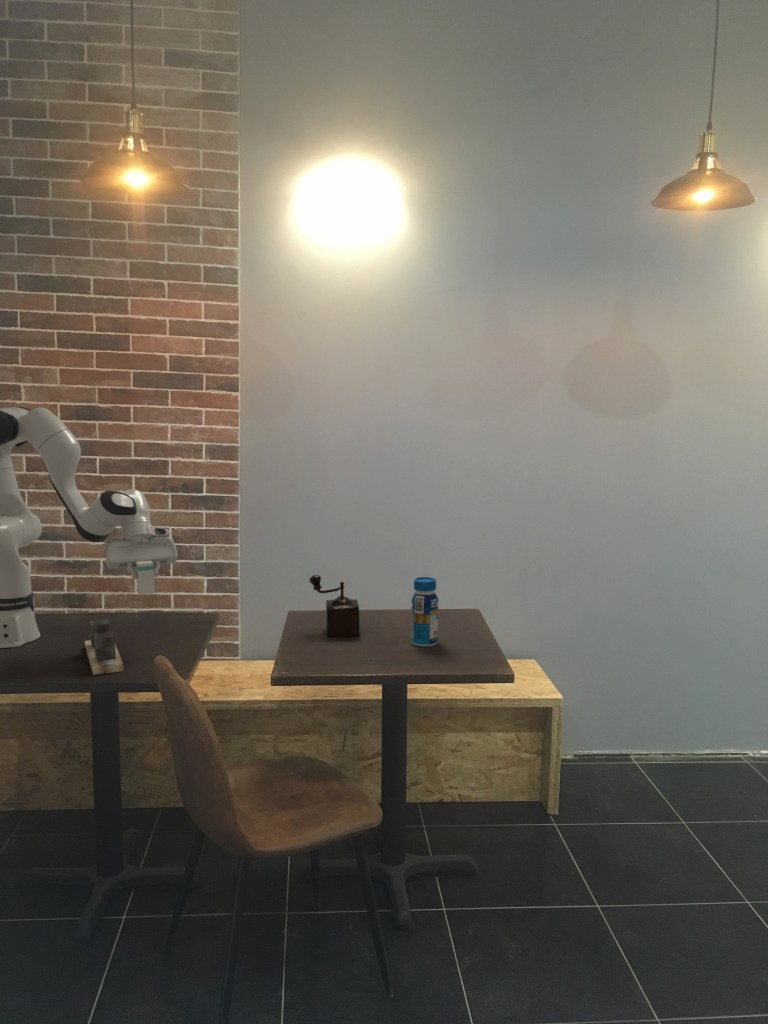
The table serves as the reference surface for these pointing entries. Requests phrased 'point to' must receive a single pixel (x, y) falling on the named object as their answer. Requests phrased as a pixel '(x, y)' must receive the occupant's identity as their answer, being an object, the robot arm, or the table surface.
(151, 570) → the block
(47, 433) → the robot arm
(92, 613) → the table surface
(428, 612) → the beverage bottle
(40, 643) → the table surface
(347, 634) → the manual coffee grinder
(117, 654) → the rail board
